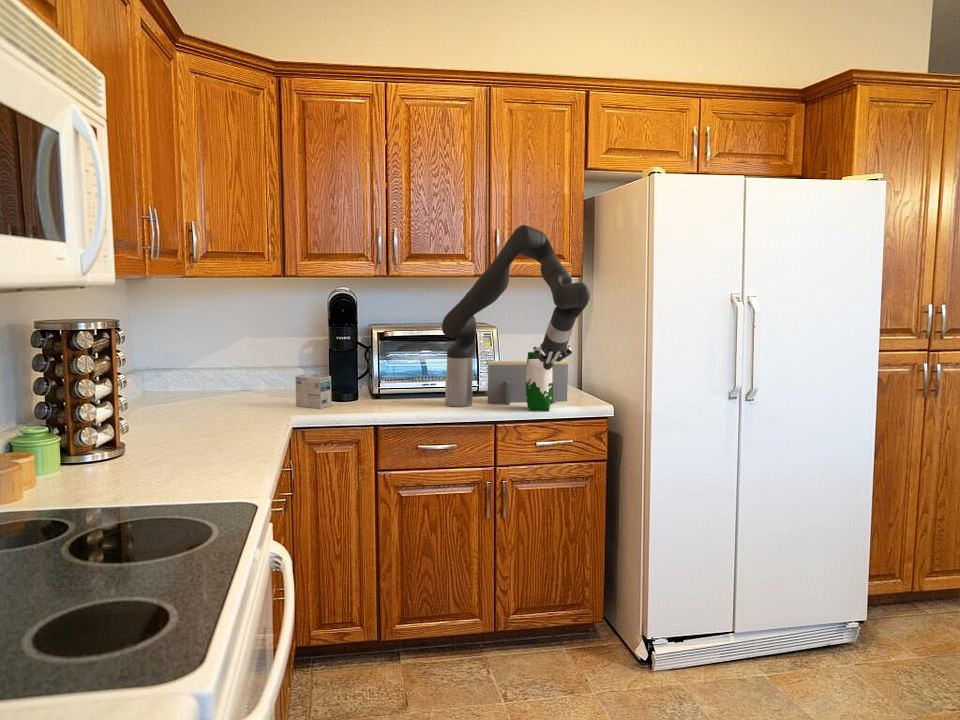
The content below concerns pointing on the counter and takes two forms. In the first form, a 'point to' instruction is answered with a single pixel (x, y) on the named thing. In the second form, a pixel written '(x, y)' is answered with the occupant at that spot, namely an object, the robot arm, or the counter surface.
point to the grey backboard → (521, 381)
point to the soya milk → (538, 384)
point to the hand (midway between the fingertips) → (546, 367)
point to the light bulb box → (313, 391)
